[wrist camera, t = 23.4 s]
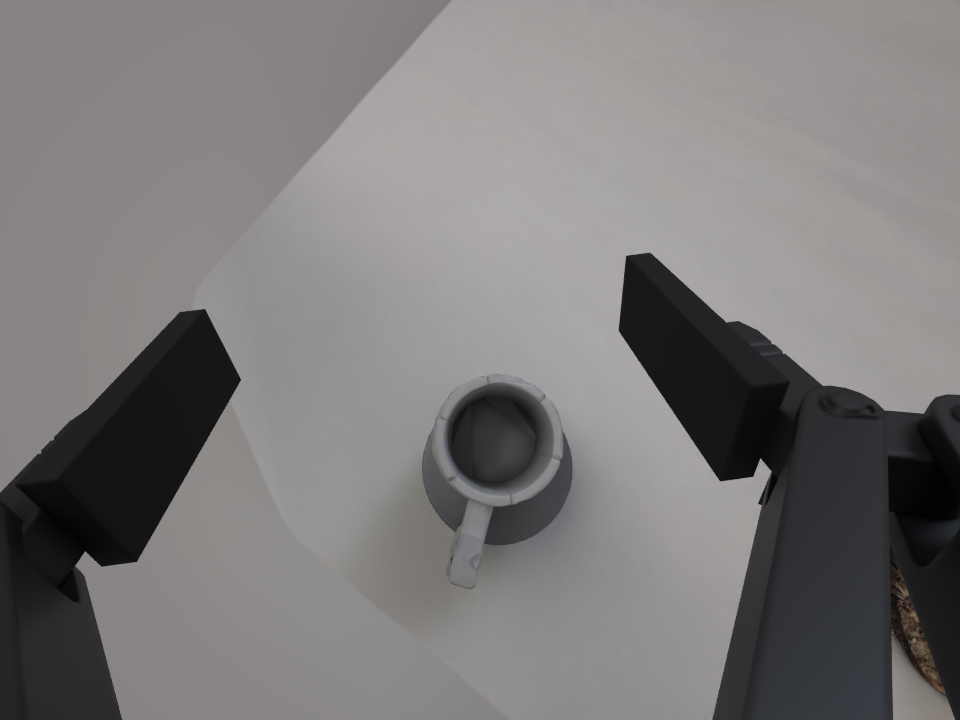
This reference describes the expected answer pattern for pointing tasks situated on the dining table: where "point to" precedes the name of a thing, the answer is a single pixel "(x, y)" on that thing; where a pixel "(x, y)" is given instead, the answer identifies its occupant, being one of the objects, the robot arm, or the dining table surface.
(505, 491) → the mug
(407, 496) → the dining table surface
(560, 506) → the grey round piece
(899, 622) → the cactus
